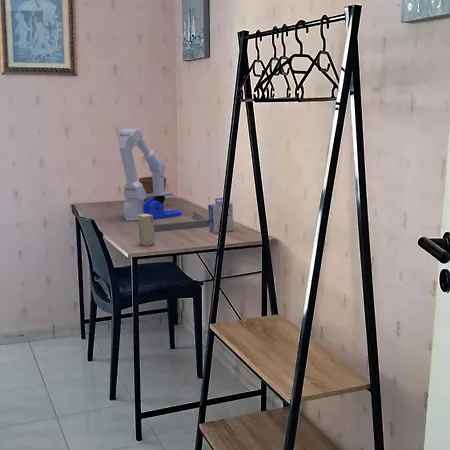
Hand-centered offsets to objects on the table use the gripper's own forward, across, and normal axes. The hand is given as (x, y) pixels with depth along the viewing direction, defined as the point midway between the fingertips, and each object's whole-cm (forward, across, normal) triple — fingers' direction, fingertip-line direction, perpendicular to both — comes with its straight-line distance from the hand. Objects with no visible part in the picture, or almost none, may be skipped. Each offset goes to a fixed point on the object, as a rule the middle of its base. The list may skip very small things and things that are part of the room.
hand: (159, 210), depth 324 cm
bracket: (+1, -2, -11) cm, 12 cm away
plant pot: (+1, +2, +15) cm, 15 cm away
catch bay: (+1, -4, -30) cm, 31 cm away
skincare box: (+1, -27, -63) cm, 68 cm away
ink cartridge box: (+1, +9, -57) cm, 58 cm away
